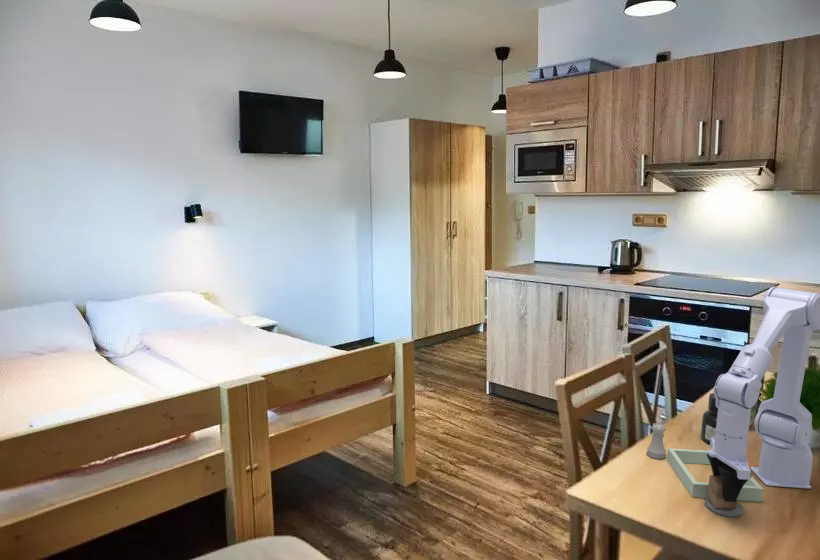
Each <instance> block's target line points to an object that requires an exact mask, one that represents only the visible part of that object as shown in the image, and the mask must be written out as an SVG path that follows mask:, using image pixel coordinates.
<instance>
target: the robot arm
mask: <svg viewBox="0 0 820 560" xmlns="http://www.w3.org/2000/svg"><path fill="white" fill-rule="evenodd" d="M762 300H763V302H762V311H763V315H764V316H763V319H762V321H761V323H760V325H759V328H758V330H757V332H756V334H755V336H754V339H753V341H752V343H750V344H746V345H744V346H743V347H742V348H741V350H740V352H739V353H738V355H737V357H736V359H735V360H734V361H733V363H732V365H731V367H730V368H729V370H728V371H727V372H725V373H721V374H720V375H719V376H718V377H717V379H716V380H715V384H714V386H713V393H714V395H715V398H716V407H717V408H718V415H717V424H716V434H715V438H711V440H710V444H709V447H711V449H707V451H708V452H707V453H708V454H707V457H708V459H709V462H710V464H709V465H710V467H711V471H712V473H711V474H712V475H713V476H721V478H722V484H723V498H724V500H725V501H728V502H736V500H737V498H738V495H739V493H740V491H741V489H742V487H743V486H744V484H745V483H746V482H747V481H748V480H750V478H751V476H752V472H753V473H754V474H755V475H756V476H757V477H758V479H760V481H761V482H762V483H763V484H764V485H765V486H769V487H770V486H771V487H783V488H795V489H796V488H797V489H808V490H809V489H812V486H811V485H810V483H811V475H812V469H813V460H814V459H813V458H814V457H813V452H812V450H811V448H810V446H809V445H808V444H809V443H810V441H811V438H812V434H813V425H812V423H813V414H812V413H811V412H810V411H809V410H808V409H807V408H806V407H805V406H804V405H803V404H802V403H801V402H800V400H801V395H802V394H801V393H802V389H803V383H804V379H805V378H804V377H805V371H806V367H807V363H808V362H807V361H808V354H809V350H810V343H811V338H812V335H813V332H814V331H819V330H820V292H810V291H802V290H795V289H788V288H784V287H783V288H782V287H781V288H780V287H778V286H771V287H770V288H769V289H768V290H766V292H765V294H764V296H763V299H762ZM782 337H783V340H782V346H781V352H780V357H779V363H778V369H777V374H776V375H777V376H776V380H775V386H774V393H773V397H772V398H769V399H766V400H763V401H762V402H761V404H760V407H759V410H758V413H757V415H756V417H754V420H753V422H754V423H753V425H754V429H755V432H756V433H757V434H758V439H761V446H760V453H759V463H758V464H759V465H758V466H751V467H749V463H748V457H747V448H748V441H749V440H748V439H749V430H750V426H749V424H750V415H751V407H753V406H754V405H755V403H756V402H757V400H758V397H759V393H760V389H761V386H762V383H761V380H762V378H763V376H764V375H765V374H766V373H767V371H768V369H769V367H770V365H772V363H773V357H772V355H771V352H772V350H773V349H774V348H775V347H776V345H778V342H779V341H780V340H781V338H782ZM737 501H738V500H737Z"/></svg>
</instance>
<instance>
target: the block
mask: <svg viewBox="0 0 820 560" xmlns="http://www.w3.org/2000/svg"><path fill="white" fill-rule="evenodd" d="M708 483H709V487H708V499H709V500H710V502H711V503H712V504H713V506H714V507H715V508H725V509H736V503H738V502H737V501H738V500H736V502H728V501H725V500H724V498H723V484H722V478H721V476H713V474H712V475H709V479H708Z"/></svg>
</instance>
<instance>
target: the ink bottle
mask: <svg viewBox="0 0 820 560" xmlns="http://www.w3.org/2000/svg"><path fill="white" fill-rule="evenodd" d="M707 408H708V410H706V411H704V413H703V414H702V419H701V420H702V421H701V428H700V429H701V430H700V437H701V439H702V440H703V441H704V442H705V443H707V444H709V445H710V440H711V438H715V434H716V424H717V415H718V408H717V407H716V398H715V395H714V392H713V393H710V394H709V395H708V406H707Z"/></svg>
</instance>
